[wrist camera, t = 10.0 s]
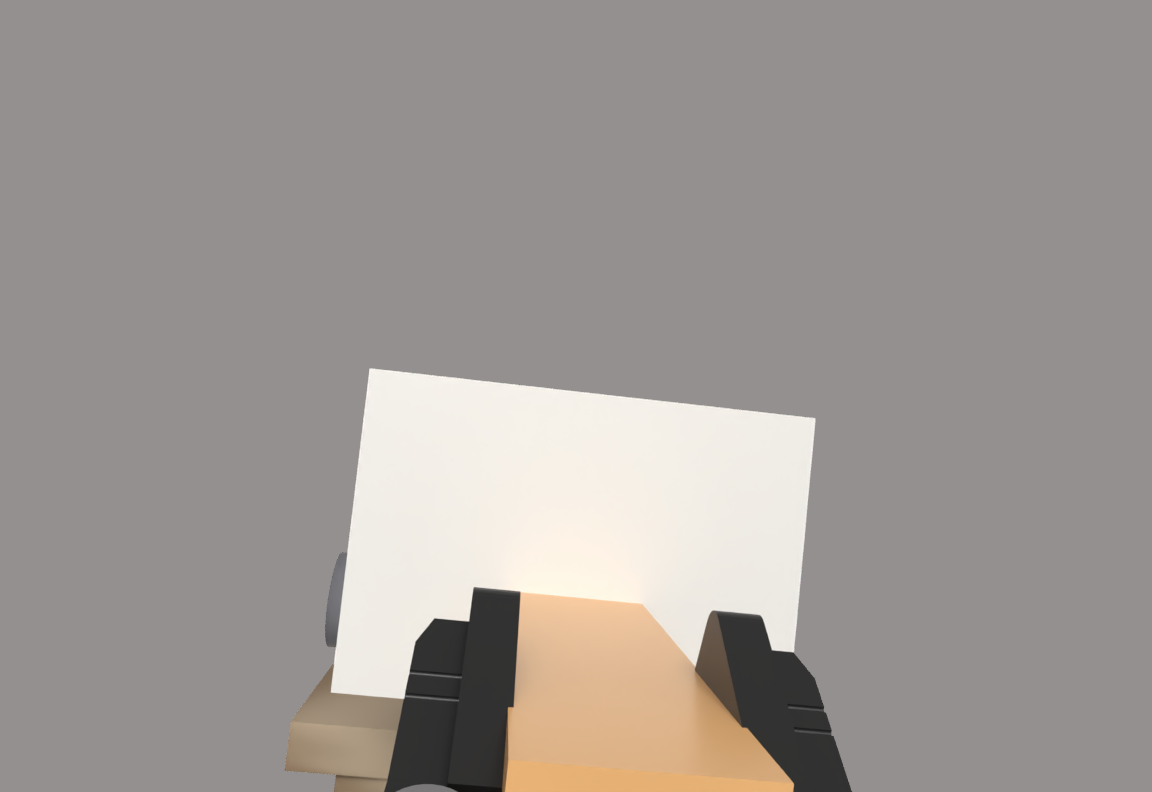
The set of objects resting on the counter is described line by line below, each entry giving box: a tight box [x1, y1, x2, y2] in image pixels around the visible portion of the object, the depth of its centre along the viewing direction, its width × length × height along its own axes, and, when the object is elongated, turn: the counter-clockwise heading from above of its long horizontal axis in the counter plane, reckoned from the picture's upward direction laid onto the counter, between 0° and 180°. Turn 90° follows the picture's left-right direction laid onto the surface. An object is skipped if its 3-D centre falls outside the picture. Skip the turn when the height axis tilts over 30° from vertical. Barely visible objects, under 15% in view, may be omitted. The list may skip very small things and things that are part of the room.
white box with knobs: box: [325, 368, 815, 792], centre depth 18 cm, size 12×16×7 cm
